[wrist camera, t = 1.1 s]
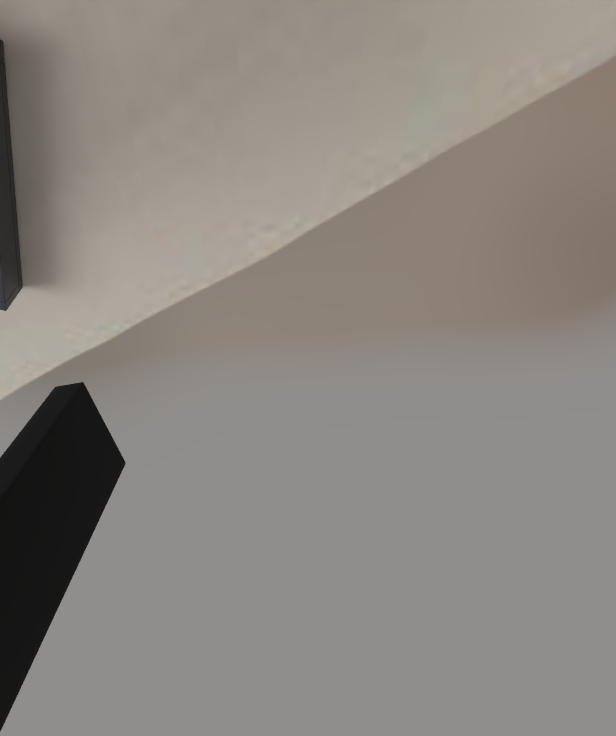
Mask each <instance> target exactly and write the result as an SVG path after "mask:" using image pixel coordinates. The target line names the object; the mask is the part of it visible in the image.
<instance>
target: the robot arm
mask: <svg viewBox="0 0 616 736" xmlns="http://www.w3.org/2000/svg"><path fill="white" fill-rule="evenodd" d="M124 465H125V461H124V459H123V457H122V455H121V453H120V451H119V449H118V448H117V446H116V444H115V442H114V440H113V438H112V436H111V434H110V432H109V431H108V428H107V427H106V425H105V423H104V421H103V419H102V417H101V415H100V414H99V411H98V409H97V408H96V406H95V404H94V402H93V400H92V398H91V396H90V394H89V392H88V390H87V388H86V387H85V385H84V383H83V382H81V383H75V384H70V385H64V386H58V387H55V388H54V389H53V391H52V392H51V393H50V394H49V396H48V397H47V398H46V400H45V401H44V402H43V403H42V405H41V406H40V407H39V409H38V410H37V411H36V412H35V414H34V415H33V416H32V418H31V419H30V420H29V422H28V423H27V424H26V425H25V427H24V428H23V429H22V430H21V432H20V433H19V434H18V436H17V437H16V438H15V440H14V441H13V442H12V443H11V445H10V446H9V447H8V449H7V450H6V451H5V452H4V454H3V455H2V456H1V458H0V731H1V729H2V727H3V725H4V723H5V720H6V718H7V716H8V714H9V712H10V710H11V708H12V705H13V703H14V701H15V699H16V697H17V695H18V693H19V690H20V688H21V686H22V684H23V682H24V680H25V677H26V675H27V673H28V671H29V669H30V667H31V665H32V662H33V660H34V658H35V656H36V654H37V652H38V650H39V647H40V645H41V643H42V641H43V639H44V637H45V635H46V633H47V630H48V628H49V626H50V624H51V622H52V620H53V618H54V615H55V613H56V611H57V609H58V607H59V605H60V603H61V600H62V598H63V596H64V594H65V592H66V590H67V588H68V586H69V583H70V581H71V579H72V577H73V575H74V573H75V571H76V568H77V566H78V564H79V562H80V560H81V558H82V555H83V553H84V551H85V549H86V547H87V545H88V543H89V541H90V538H91V536H92V534H93V532H94V530H95V527H96V526H97V523H98V521H99V519H100V517H101V515H102V512H103V511H104V508H105V506H106V504H107V502H108V500H109V498H110V496H111V493H112V491H113V489H114V487H115V485H116V483H117V481H118V478H119V476H120V474H121V472H122V470H123V468H124Z"/></svg>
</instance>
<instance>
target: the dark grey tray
mask: <svg viewBox="0 0 616 736" xmlns="http://www.w3.org/2000/svg"><path fill="white" fill-rule="evenodd" d="M21 289H22V276H21V264H20V251H19V239H18V226H17V214H16V201H15V189H14V176H13V164H12V152H11V139H10V127H9V114H8V102H7V89H6V77H5V64H4V52H3V41H1V40H0V310H4V311H6V310H7V309H8V307H9V306H10V305H11V303H12V302H13V300H14V299H15V297H16V296H17V294H18V293H19V291H20V290H21Z"/></svg>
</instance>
